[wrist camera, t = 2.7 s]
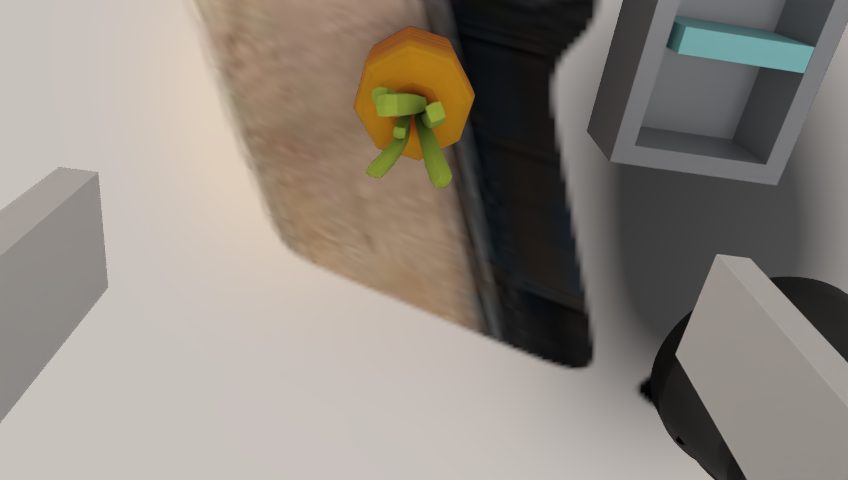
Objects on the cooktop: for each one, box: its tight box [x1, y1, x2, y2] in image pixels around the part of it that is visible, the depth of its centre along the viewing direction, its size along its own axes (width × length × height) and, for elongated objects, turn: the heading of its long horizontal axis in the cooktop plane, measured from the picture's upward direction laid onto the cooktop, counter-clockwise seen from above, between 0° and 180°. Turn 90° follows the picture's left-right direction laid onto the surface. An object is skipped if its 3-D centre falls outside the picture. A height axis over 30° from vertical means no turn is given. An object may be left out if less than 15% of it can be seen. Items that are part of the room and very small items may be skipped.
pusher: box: [666, 16, 815, 73], centre depth 32 cm, size 1×6×4 cm, turn 81°
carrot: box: [354, 26, 475, 188], centre depth 29 cm, size 5×5×15 cm
